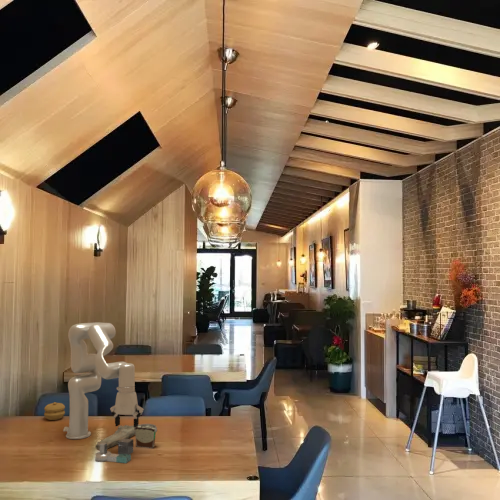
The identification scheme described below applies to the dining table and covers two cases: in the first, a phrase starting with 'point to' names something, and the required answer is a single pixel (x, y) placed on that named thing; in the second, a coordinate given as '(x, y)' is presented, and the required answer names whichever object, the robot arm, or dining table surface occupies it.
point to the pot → (54, 411)
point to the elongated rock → (117, 436)
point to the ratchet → (111, 455)
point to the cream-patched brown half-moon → (145, 435)
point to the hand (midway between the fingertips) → (126, 426)
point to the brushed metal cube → (125, 446)
